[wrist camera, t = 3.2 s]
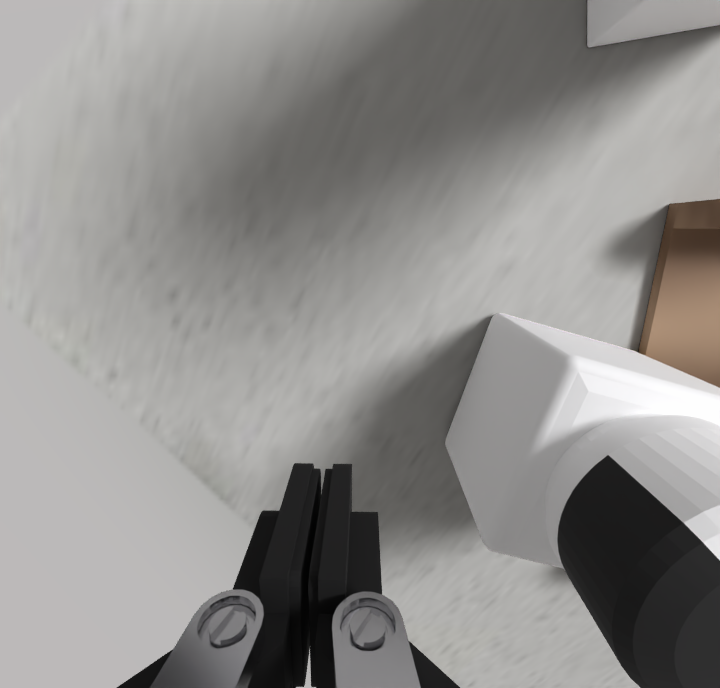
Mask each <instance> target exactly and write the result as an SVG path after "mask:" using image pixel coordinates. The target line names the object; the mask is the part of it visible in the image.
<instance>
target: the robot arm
mask: <svg viewBox="0 0 720 688" xmlns="http://www.w3.org/2000/svg"><path fill="white" fill-rule="evenodd" d="M309 649H310V658H311V659H310V660H311V686H312V687H316V688H460V687H459V686H458V685H457V684H455V683H454V682H453V681H452V680H451V679H450V678H449V677H448V676H447V675H446V674H444V673H443V672H442V671H441V670H440V669H439V668H438V667H437V666H436V665H435V664H434V663H432V662H431V661H430V660H429V659H428V658H427V657H426V656H425V655H424V654H423V653H421V652H420V651H419V650H418V649H417V648H416V647H415V646H414V645H413V644H412V643H410V642H409V641H408V637H407V633H406V629H405V625H404V622H403V618H402V616H401V613H400V611H399V609H398V607H397V606H396V605H395V604H394V603H393V602H392V601H391V600H390V599H388V598H387V597H385V596H384V595H382V585H381V565H380V545H379V526H378V512H352V464H333V469H326V470H325V476H324V483H323V489H322V495H321V471H320V469H314V465H313V464H302V463H295V464H294V465H293V469H292V472H291V475H290V478H289V482H288V485H287V488H286V492H285V495H284V498H283V502H282V505H281V508H280V511H262V512H261V514H260V517H259V519H258V522H257V525H256V527H255V530H254V533H253V536H252V538H251V541H250V544H249V547H248V549H247V552H246V555H245V557H244V560H243V563H242V566H241V568H240V571H239V574H238V576H237V579H236V582H235V585H234V588H233V590H229V591H225V592H221V593H220V594H217V595H215V596H213V597H212V598H210V599H209V600H208V601H206V602H205V603H204V604H203V605H202V606H201V607H200V608H199V610H198V611H197V612H196V613H195V614H194V616H193V618H192V619H191V621H190V623H189V624H188V626H187V628H186V629H185V631H184V633H183V634H182V636H181V637H180V639H179V641H178V642H177V644H176V646H175V647H174V649H173V650H171V651H170V652H168V653H167V654H165V655H164V656H162V657H161V658H160V659H158V660H157V661H155V662H154V663H152V664H151V665H149V666H148V667H147V668H145V669H144V670H142V671H141V672H139V673H138V674H136V675H135V676H133V677H132V678H130V679H129V680H127V681H126V682H124V683H123V684H121V685H120V686H119V687H117V688H296V687H304V685H305V679H306V672H307V663H308V656H309Z"/></svg>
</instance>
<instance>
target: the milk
mask: <svg viewBox="0 0 720 688" xmlns="http://www.w3.org/2000/svg"><path fill="white" fill-rule="evenodd" d="M716 25H720V0H587V46H588V47H595V46H601V45H607V44H613V43H618V42H624V41H630V40H636V39H641V38H647V37H653V36H659V35H664V34H670V33H676V32H682V31H688V30H693V29H699V28H705V27H711V26H716Z"/></svg>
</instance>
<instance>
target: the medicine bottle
mask: <svg viewBox="0 0 720 688" xmlns="http://www.w3.org/2000/svg"><path fill="white" fill-rule="evenodd" d="M445 445H446V448H447V450H448V453H449V456H450V458H451V461H452V463H453V466H454V469H455V471H456V474H457V476H458V479H459V481H460V484H461V487H462V489H463V492H464V494H465V497H466V500H467V502H468V505H469V507H470V510H471V512H472V515H473V518H474V520H475V523H476V525H477V528H478V531H479V533H480V536H481V538H482V541H483V543H484V545H485V546H486V547H487V549H489V550H491V551H493V552H497V553H502V554H506V555H510V556H514V557H518V558H522V559H526V560H530V561H534V562H538V563H543V564H547V565H551V566H555V567H559V568H563V569H564V570H565V572H566V574H567V575H568V577H569V579H570V580H571V582H572V584H573V585H574V587H575V589H576V590H577V592H578V594H579V595H580V597H581V599H582V600H583V602H584V604H585V605H586V607H587V609H588V610H589V612H590V614H591V615H592V617H593V619H594V620H595V622H596V624H597V625H598V627H599V629H600V630H601V632H602V634H603V635H604V637H605V639H606V640H607V642H608V644H609V646H610V647H611V649H612V651H613V652H614V654H615V656H616V657H617V659H618V661H619V662H620V664H621V666H622V667H623V669H624V670H625V671H626V673H627V674H628V675H629V677H630V678H631V679H632V680H633V681H634V682H635V683H636V684H637V685H639V686H640V687H641V688H720V388H719V387H717V386H714V385H712V384H710V383H707V382H705V381H703V380H700V379H698V378H696V377H694V376H691V375H689V374H687V373H684V372H682V371H680V370H677V369H675V368H673V367H670V366H668V365H666V364H663V363H661V362H659V361H657V360H654V359H652V358H650V357H647V356H645V355H643V354H640V353H638V352H636V351H633V350H630V349H626V348H623V347H619V346H616V345H612V344H609V343H605V342H602V341H598V340H595V339H591V338H588V337H584V336H581V335H577V334H574V333H570V332H567V331H563V330H560V329H556V328H553V327H549V326H546V325H542V324H539V323H535V322H532V321H528V320H525V319H521V318H518V317H514V316H511V315H507V314H504V313H497V314H495V315H493V317H492V318H491V321H490V324H489V326H488V329H487V332H486V334H485V337H484V339H483V342H482V345H481V347H480V350H479V353H478V355H477V358H476V361H475V363H474V366H473V368H472V371H471V374H470V376H469V379H468V382H467V384H466V387H465V390H464V392H463V395H462V397H461V400H460V403H459V405H458V408H457V411H456V413H455V416H454V419H453V421H452V424H451V426H450V429H449V432H448V434H447V437H446V440H445Z"/></svg>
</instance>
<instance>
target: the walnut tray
mask: <svg viewBox="0 0 720 688" xmlns="http://www.w3.org/2000/svg"><path fill="white" fill-rule="evenodd" d="M638 353H640V354H643V355H645V356H647V357H650V358H652V359H654V360H657V361H659V362H661V363H663V364H666V365H668V366H670V367H673V368H675V369H677V370H680V371H682V372H684V373H687V374H689V375H691V376H694V377H696V378H698V379H700V380H703V381H705V382H707V383H710V384H712V385H714V386H717V387H719V388H720V199H716V200H705V201H695V202H685V203H675V204H669V209H668V213H667V218H666V223H665V228H664V232H663V237H662V242H661V247H660V251H659V256H658V261H657V266H656V270H655V275H654V280H653V285H652V289H651V294H650V299H649V304H648V308H647V313H646V318H645V323H644V327H643V332H642V337H641V342H640V346H639V351H638Z"/></svg>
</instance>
